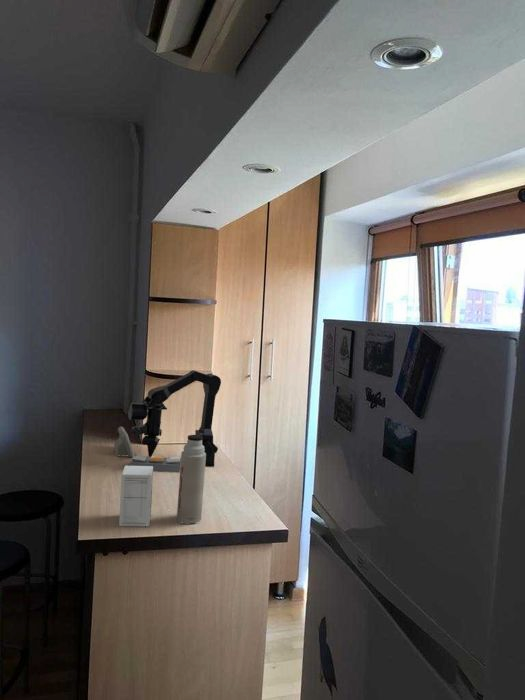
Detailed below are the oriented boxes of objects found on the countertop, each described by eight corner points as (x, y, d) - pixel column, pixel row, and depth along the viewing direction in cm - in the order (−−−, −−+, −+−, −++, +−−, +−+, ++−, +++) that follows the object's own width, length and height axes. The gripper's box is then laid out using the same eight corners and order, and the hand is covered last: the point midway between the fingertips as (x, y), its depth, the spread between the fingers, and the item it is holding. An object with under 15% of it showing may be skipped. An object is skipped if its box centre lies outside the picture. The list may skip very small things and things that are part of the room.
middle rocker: (163, 459, 230) (163, 456, 230) (162, 461, 228) (162, 458, 227) (150, 458, 230) (150, 455, 230) (149, 460, 227) (149, 457, 227)
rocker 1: (145, 459, 230) (146, 456, 230) (145, 461, 227) (145, 458, 227) (133, 456, 229) (134, 453, 229) (132, 458, 226) (133, 455, 226)
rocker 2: (180, 459, 231) (179, 456, 231) (179, 461, 228) (179, 458, 228) (167, 460, 231) (167, 457, 231) (166, 462, 228) (166, 459, 228)
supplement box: (151, 515, 182) (154, 465, 180) (149, 527, 173) (152, 474, 171) (121, 514, 180) (124, 464, 179) (118, 526, 171) (121, 473, 170)
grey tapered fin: (133, 459, 240) (135, 435, 239) (112, 458, 238) (113, 434, 238) (134, 448, 256) (136, 426, 255) (114, 447, 254) (116, 425, 253)
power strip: (181, 465, 237) (181, 457, 237) (179, 472, 227) (180, 465, 227) (133, 462, 235) (134, 455, 235) (130, 469, 225) (130, 462, 225)
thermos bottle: (175, 523, 177) (181, 438, 174) (177, 514, 185) (183, 432, 182) (200, 525, 177) (207, 440, 175) (201, 515, 185) (207, 433, 183)
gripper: (137, 413, 236) (133, 448, 237) (130, 423, 217) (126, 461, 218) (163, 415, 237) (159, 450, 238) (159, 425, 218) (155, 463, 219)
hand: (150, 456), depth 228 cm, fingers closed, pressing on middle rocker
